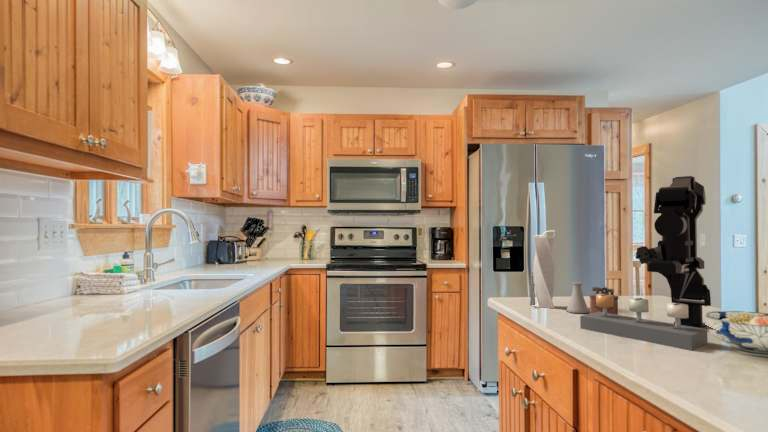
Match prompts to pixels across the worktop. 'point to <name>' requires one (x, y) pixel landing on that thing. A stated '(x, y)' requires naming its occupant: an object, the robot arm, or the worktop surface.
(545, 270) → the skyscraper
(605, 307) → the knob
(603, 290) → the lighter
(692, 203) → the robot arm
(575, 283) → the flask
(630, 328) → the knob mount
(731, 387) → the worktop surface
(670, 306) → the knob
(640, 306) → the knob centre
